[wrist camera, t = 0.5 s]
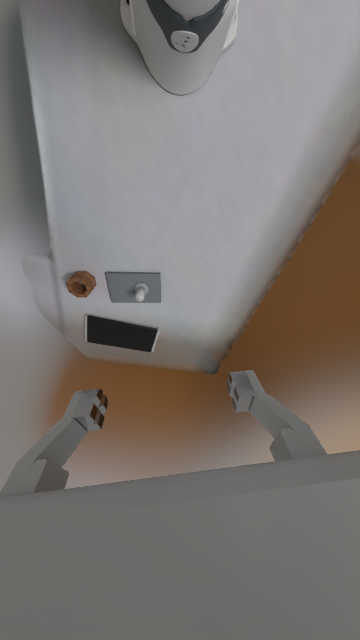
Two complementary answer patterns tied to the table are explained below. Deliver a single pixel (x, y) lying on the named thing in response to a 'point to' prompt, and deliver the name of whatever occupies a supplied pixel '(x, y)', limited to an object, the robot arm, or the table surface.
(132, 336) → the smartphone
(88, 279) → the ring
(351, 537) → the robot arm
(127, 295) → the post stand
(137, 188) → the table surface
